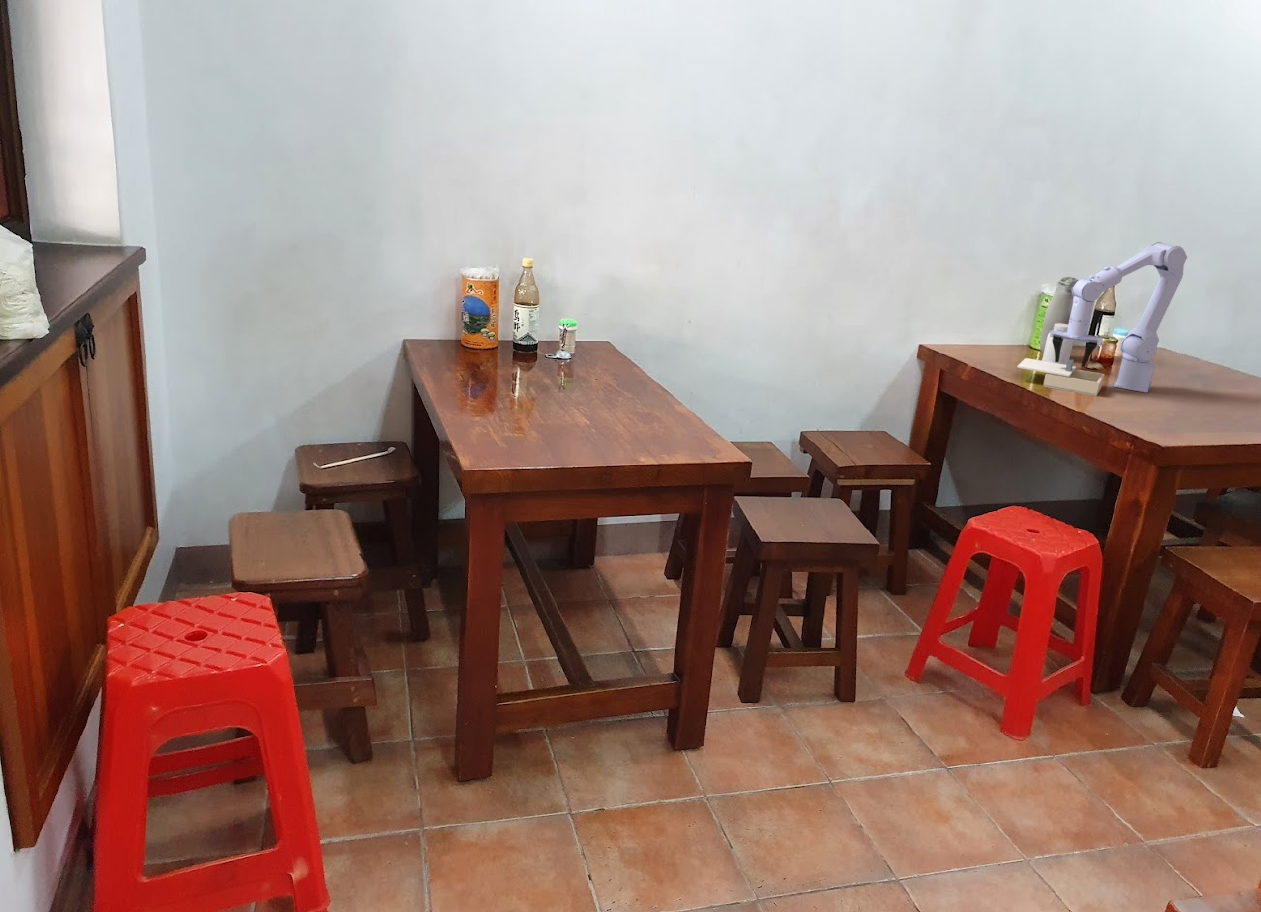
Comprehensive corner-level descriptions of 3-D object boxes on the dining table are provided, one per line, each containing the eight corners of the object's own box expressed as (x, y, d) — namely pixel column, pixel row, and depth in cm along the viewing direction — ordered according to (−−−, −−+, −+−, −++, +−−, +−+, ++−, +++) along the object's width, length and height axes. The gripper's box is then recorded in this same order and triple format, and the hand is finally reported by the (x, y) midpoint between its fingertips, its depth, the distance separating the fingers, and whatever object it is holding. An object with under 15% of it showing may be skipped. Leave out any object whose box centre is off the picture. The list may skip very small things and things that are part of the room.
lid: (1075, 368, 298) (1078, 356, 297) (1069, 376, 287) (1071, 364, 286) (1025, 359, 305) (1027, 348, 304) (1017, 367, 294) (1019, 355, 293)
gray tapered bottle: (1030, 355, 332) (1047, 274, 322) (1054, 354, 335) (1072, 274, 326) (1050, 362, 323) (1068, 279, 314) (1074, 362, 326) (1093, 280, 317)
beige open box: (1101, 386, 296) (1104, 374, 294) (1096, 396, 284) (1099, 383, 283) (1050, 377, 303) (1053, 365, 301) (1043, 386, 291) (1045, 373, 290)
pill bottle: (1063, 374, 308) (1073, 328, 303) (1037, 369, 312) (1047, 324, 307) (1069, 370, 314) (1079, 325, 309) (1044, 365, 318) (1053, 321, 313)
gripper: (1052, 318, 288) (1042, 361, 293) (1104, 325, 281) (1094, 370, 286) (1055, 314, 294) (1046, 357, 298) (1107, 322, 287) (1096, 366, 291)
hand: (1070, 363), depth 292 cm, fingers open, 7 cm apart
